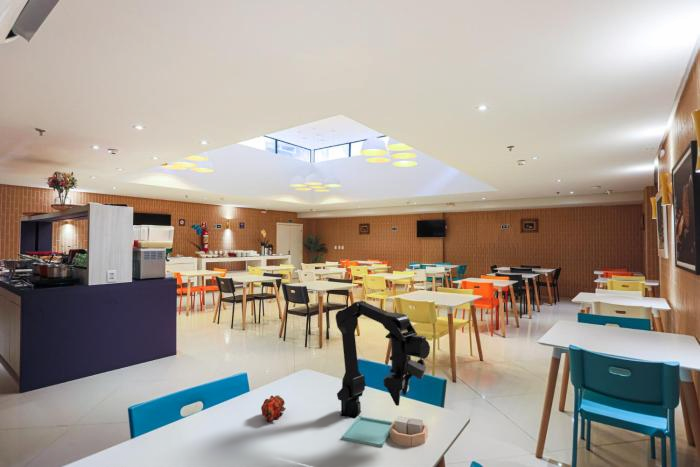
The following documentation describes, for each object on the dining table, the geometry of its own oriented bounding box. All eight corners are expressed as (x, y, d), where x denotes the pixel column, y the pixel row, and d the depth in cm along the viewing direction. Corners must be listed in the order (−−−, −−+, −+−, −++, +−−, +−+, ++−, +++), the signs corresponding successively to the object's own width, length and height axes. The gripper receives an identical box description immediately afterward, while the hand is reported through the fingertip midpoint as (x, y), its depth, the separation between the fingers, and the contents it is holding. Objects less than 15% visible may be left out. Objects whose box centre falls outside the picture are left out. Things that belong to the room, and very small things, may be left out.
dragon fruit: (280, 414, 146) (270, 434, 134) (263, 401, 146) (251, 420, 134) (292, 398, 144) (282, 416, 132) (274, 385, 145) (263, 403, 133)
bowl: (386, 443, 119) (386, 431, 119) (396, 426, 130) (396, 416, 130) (422, 449, 115) (422, 438, 115) (429, 432, 125) (429, 422, 125)
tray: (341, 440, 122) (341, 436, 122) (359, 419, 136) (359, 416, 136) (382, 448, 116) (381, 444, 116) (396, 425, 131) (396, 422, 131)
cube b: (420, 441, 119) (419, 425, 119) (408, 438, 120) (407, 423, 121) (423, 435, 122) (422, 419, 123) (411, 433, 124) (410, 418, 124)
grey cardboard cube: (406, 438, 121) (406, 423, 121) (394, 436, 122) (394, 420, 123) (410, 432, 124) (409, 417, 124) (398, 430, 126) (398, 415, 126)
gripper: (416, 363, 113) (418, 415, 112) (429, 347, 130) (430, 392, 129) (382, 359, 117) (383, 410, 116) (398, 345, 134) (399, 388, 133)
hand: (401, 399), depth 124 cm, fingers open, 9 cm apart
